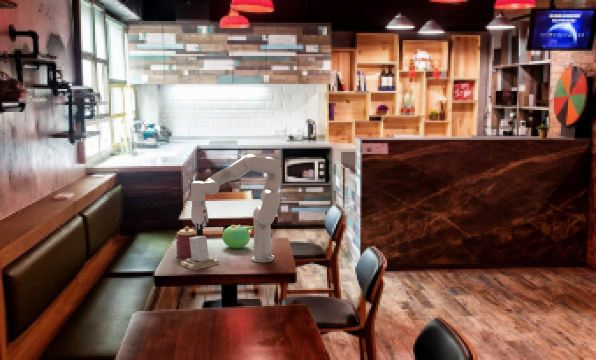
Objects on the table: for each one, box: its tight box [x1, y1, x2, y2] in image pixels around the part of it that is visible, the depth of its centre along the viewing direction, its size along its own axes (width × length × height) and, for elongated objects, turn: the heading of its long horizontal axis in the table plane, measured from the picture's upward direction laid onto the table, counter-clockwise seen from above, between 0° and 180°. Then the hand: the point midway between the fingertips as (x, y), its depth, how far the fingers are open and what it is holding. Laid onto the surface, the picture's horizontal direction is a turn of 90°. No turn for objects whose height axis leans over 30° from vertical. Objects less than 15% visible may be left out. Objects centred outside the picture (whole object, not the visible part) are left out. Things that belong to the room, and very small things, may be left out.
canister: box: [175, 226, 197, 259], centre depth 379 cm, size 13×13×18 cm
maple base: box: [180, 256, 220, 271], centre depth 362 cm, size 13×17×3 cm
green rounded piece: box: [221, 224, 254, 249], centre depth 398 cm, size 18×17×15 cm
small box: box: [189, 235, 210, 261], centre depth 362 cm, size 8×6×13 cm
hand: (199, 235), depth 360 cm, fingers closed
